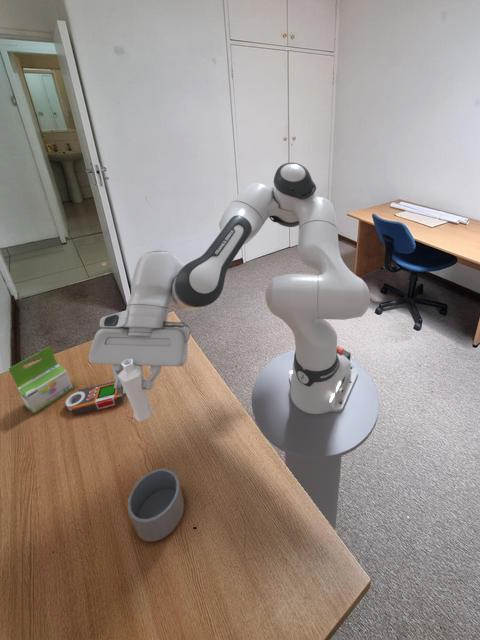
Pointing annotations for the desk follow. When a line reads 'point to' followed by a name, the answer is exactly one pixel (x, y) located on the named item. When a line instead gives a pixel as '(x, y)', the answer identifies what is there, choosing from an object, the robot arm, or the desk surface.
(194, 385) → the desk surface
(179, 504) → the short grey cup
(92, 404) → the electronic device
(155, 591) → the desk surface
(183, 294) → the robot arm
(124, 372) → the perfume bottle
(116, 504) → the desk surface
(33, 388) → the ink box
